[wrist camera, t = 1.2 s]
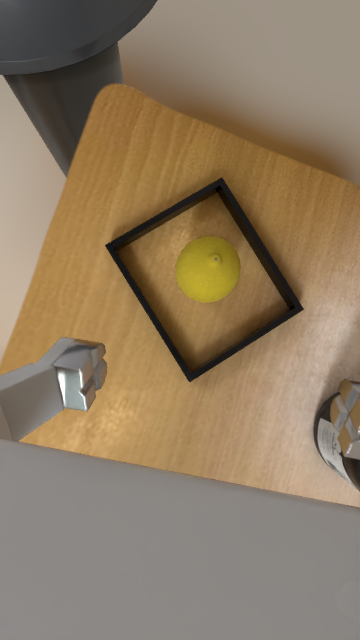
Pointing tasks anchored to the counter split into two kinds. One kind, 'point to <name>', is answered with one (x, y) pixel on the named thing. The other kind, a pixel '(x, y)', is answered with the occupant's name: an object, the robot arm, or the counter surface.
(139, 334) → the counter surface
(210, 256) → the lemon
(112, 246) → the black square frame
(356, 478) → the ink bottle
